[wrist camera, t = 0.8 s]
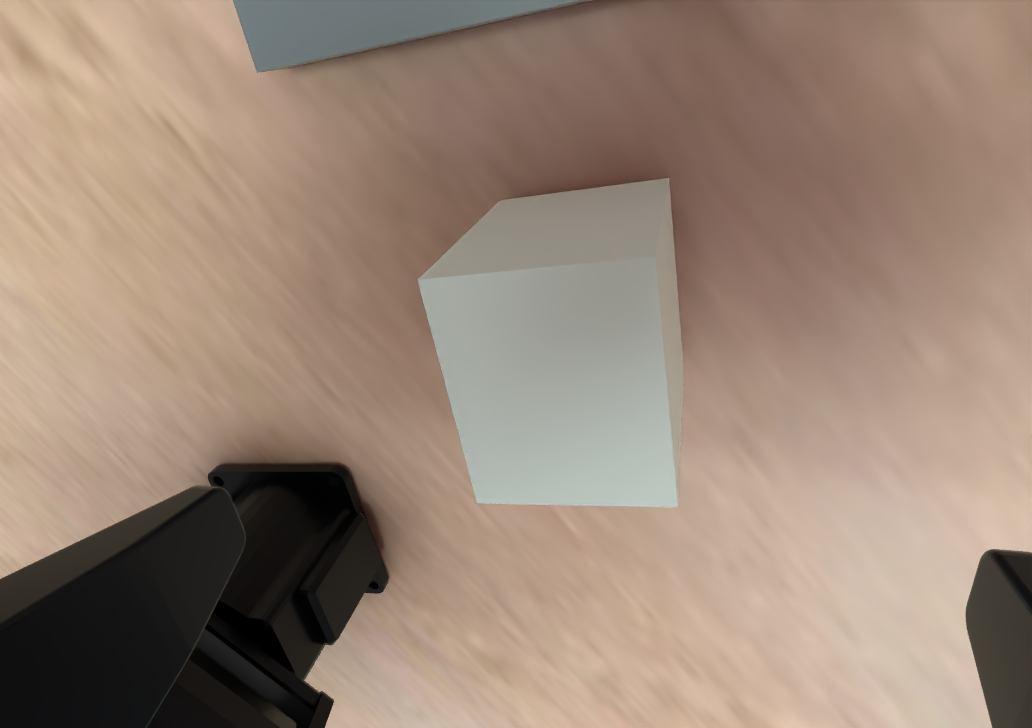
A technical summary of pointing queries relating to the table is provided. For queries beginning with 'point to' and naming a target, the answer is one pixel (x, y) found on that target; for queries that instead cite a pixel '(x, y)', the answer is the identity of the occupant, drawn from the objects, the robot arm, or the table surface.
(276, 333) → the table surface
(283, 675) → the robot arm
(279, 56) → the socket plate
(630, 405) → the pale grey cuboid block
